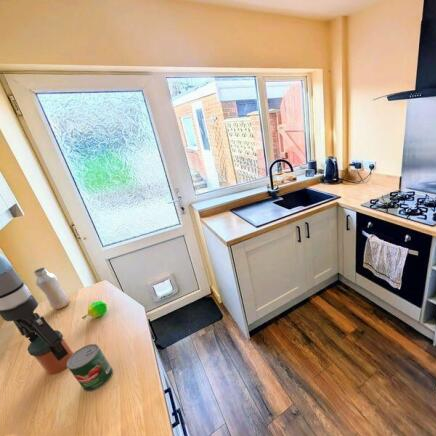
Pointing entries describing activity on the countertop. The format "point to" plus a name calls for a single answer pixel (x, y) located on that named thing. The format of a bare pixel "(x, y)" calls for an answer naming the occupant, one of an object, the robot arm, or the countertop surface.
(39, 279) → the plastic bottle
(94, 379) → the canned tomato
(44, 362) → the jam jar
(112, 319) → the countertop surface
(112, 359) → the countertop surface
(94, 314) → the apple
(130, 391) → the countertop surface
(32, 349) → the jar lid
